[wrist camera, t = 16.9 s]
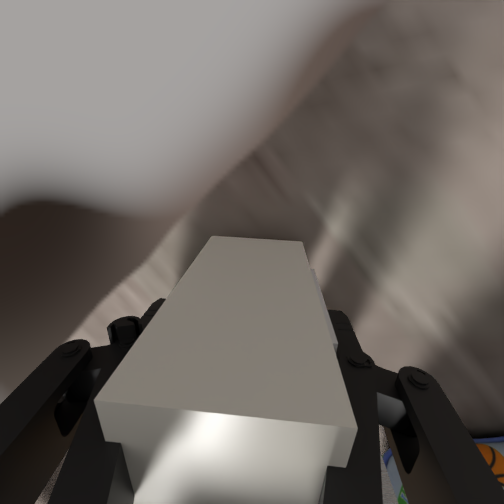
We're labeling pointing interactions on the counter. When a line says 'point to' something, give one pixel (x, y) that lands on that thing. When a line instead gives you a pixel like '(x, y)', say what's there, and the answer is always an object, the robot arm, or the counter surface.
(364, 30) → the counter surface
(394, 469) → the lunch box
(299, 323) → the plug
